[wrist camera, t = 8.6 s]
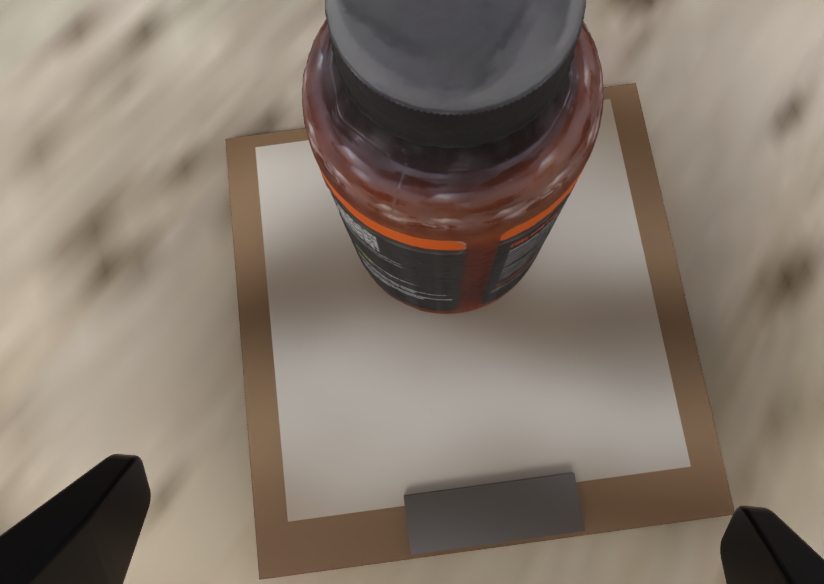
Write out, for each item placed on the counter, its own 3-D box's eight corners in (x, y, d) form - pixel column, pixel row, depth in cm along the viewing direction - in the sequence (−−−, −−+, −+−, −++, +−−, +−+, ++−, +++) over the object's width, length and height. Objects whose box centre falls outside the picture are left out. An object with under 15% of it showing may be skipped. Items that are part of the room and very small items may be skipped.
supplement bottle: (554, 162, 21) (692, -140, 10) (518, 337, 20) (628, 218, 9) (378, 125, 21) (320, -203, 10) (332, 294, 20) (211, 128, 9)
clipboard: (727, 512, 19) (743, 516, 18) (263, 575, 19) (254, 583, 18) (631, 90, 22) (640, 75, 21) (230, 145, 22) (221, 132, 21)
